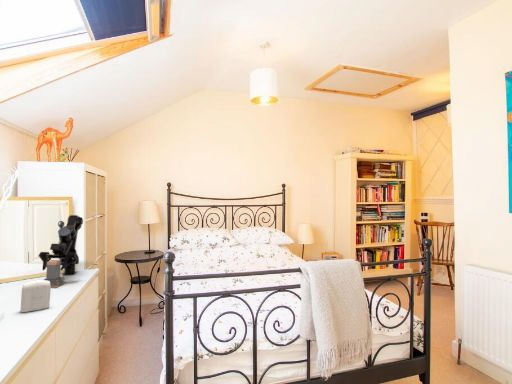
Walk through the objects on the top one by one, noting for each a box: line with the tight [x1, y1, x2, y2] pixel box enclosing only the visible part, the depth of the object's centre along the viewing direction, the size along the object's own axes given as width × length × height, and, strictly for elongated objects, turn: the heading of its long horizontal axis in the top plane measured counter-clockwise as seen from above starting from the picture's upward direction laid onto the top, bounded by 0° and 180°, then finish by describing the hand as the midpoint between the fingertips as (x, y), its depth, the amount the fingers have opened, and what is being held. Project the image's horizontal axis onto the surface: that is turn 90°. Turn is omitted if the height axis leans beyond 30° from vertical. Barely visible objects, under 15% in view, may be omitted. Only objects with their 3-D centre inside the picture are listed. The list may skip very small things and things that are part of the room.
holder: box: [43, 276, 67, 289], centre depth 167 cm, size 9×9×4 cm
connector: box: [45, 259, 62, 280], centre depth 167 cm, size 5×5×13 cm
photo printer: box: [19, 279, 52, 313], centre depth 132 cm, size 10×4×12 cm, turn 134°
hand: (52, 269), depth 165 cm, fingers open, 9 cm apart
